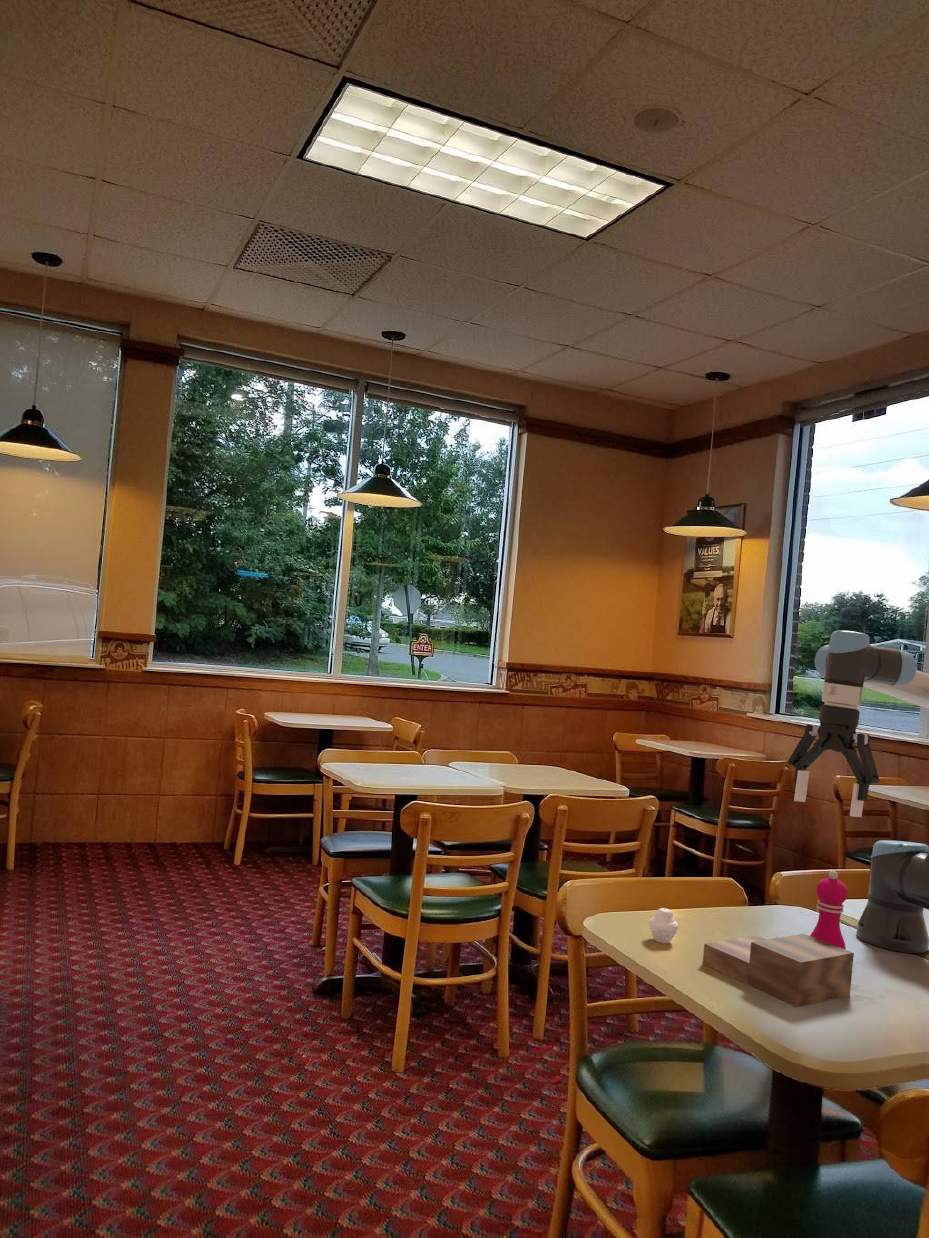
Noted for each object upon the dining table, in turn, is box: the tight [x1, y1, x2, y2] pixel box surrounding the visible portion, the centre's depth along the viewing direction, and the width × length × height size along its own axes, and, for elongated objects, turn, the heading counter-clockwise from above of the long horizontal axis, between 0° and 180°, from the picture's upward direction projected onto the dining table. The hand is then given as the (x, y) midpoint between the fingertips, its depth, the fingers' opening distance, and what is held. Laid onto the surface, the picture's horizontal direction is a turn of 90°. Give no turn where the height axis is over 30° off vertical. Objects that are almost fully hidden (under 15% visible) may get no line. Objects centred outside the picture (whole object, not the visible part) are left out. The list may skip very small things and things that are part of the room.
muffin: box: [648, 907, 679, 944], centre depth 195 cm, size 6×6×7 cm
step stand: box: [702, 933, 855, 1008], centre depth 178 cm, size 16×22×8 cm
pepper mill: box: [809, 870, 849, 950], centre depth 187 cm, size 7×7×20 cm
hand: (826, 808), depth 188 cm, fingers open, 13 cm apart
